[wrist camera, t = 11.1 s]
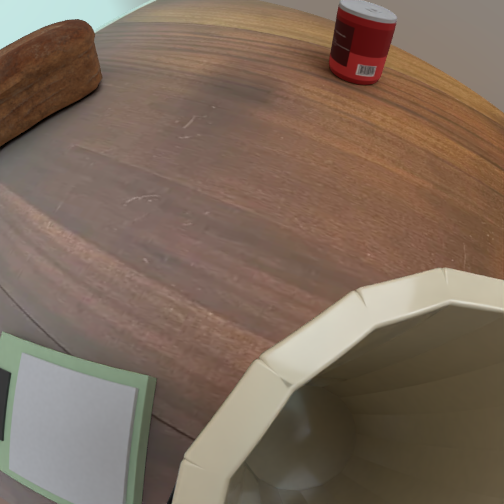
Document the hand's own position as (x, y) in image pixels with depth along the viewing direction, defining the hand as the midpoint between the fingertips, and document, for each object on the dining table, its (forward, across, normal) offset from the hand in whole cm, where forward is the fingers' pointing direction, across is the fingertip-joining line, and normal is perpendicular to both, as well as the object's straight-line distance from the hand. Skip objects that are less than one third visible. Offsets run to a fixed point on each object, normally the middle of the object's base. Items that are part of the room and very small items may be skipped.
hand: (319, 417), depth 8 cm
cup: (+4, 0, +6) cm, 7 cm away
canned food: (+35, -23, -17) cm, 45 cm away
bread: (+39, +26, -22) cm, 52 cm away
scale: (+10, +16, +8) cm, 21 cm away
